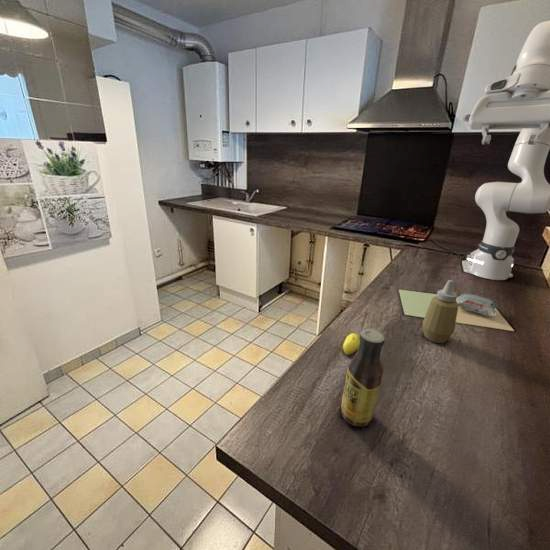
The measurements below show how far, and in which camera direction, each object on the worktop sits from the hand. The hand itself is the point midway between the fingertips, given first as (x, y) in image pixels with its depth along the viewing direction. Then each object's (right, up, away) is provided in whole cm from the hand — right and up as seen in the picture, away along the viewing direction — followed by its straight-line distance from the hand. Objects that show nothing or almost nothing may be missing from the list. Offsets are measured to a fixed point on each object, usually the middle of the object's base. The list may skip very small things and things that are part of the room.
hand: (507, 143), depth 72 cm
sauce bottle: (-42, -61, -14) cm, 75 cm away
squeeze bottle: (-12, -51, +12) cm, 54 cm away
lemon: (-37, -53, +6) cm, 65 cm away
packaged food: (+10, -45, +26) cm, 53 cm away
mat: (+3, -44, +28) cm, 52 cm away
